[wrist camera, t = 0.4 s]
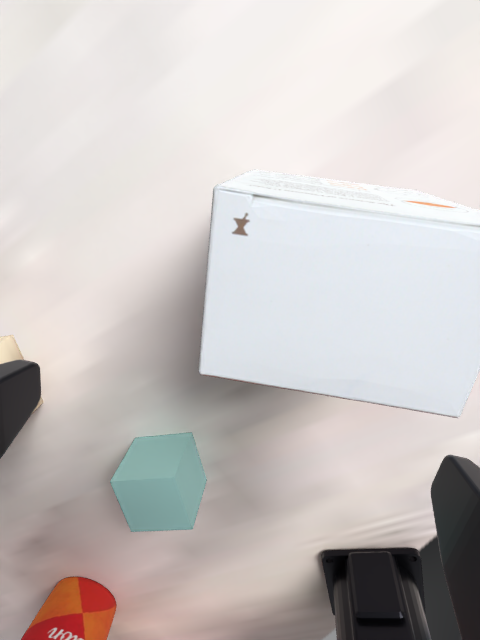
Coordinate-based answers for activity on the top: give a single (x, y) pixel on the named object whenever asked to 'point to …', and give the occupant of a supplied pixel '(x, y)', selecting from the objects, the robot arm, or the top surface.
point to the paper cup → (74, 612)
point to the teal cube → (160, 483)
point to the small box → (343, 291)
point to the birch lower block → (11, 353)
